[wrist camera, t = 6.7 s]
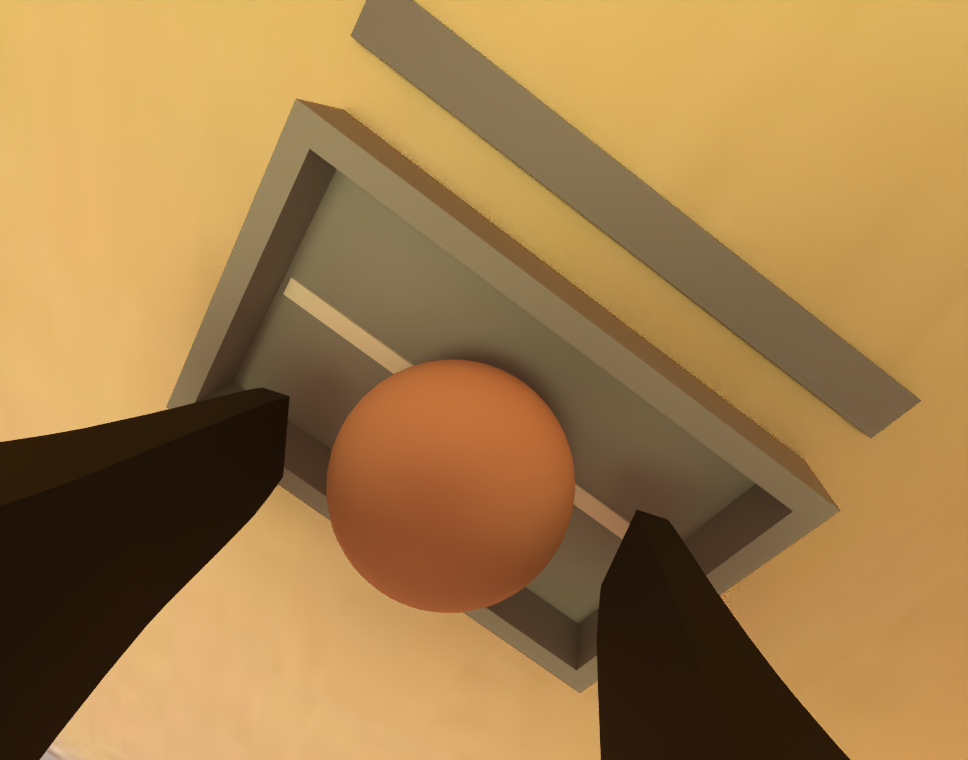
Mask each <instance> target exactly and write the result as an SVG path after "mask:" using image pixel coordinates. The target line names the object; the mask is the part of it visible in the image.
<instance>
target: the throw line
mask: <svg viewBox="0 0 968 760" xmlns="http://www.w3.org/2000/svg"><path fill="white" fill-rule="evenodd" d="M351 36H352V37H353V38H354V39H355V40H357V41H358V42H359V43H361V44H362V45H363V46H364V47H366V48H367V49H368V50H370V51H371V52H372V53H374V54H375V55H376V56H377V57H379V58H380V59H381V60H383V61H384V62H385V63H386V64H388V65H389V66H390V67H392V68H393V69H394V70H395V71H397V72H398V73H399V74H401V75H402V76H403V77H405V78H406V79H407V80H408V81H410V82H411V83H412V84H414V85H415V86H416V87H417V88H419V89H420V90H421V91H423V92H424V93H425V94H426V95H428V96H429V97H430V98H432V99H433V100H434V101H436V102H437V103H438V104H439V105H441V106H442V107H443V108H445V109H446V110H447V111H448V112H450V113H451V114H452V115H454V116H455V117H456V118H458V119H459V120H460V121H461V122H463V123H464V124H465V125H467V126H468V127H469V128H470V129H472V130H473V131H474V132H476V133H477V134H478V135H479V136H481V137H482V138H483V139H485V140H486V141H487V142H489V143H490V144H491V145H492V146H494V147H495V148H496V149H498V150H499V151H500V152H501V153H503V154H504V155H505V156H507V157H508V158H509V159H510V160H512V161H513V162H514V163H516V164H517V165H518V166H520V167H521V168H522V169H523V170H525V171H526V172H527V173H529V174H530V175H531V176H532V177H534V178H535V179H536V180H538V181H539V182H540V183H542V184H543V185H544V186H545V187H547V188H548V189H549V190H551V191H552V192H553V193H554V194H556V195H557V196H558V197H560V198H561V199H562V200H563V201H565V202H566V203H567V204H569V205H570V206H571V207H573V208H574V209H575V210H576V211H578V212H579V213H580V214H582V215H583V216H584V217H585V218H587V219H588V220H589V221H591V222H592V223H593V224H594V225H596V226H597V227H598V228H600V229H601V230H602V231H604V232H605V233H606V234H607V235H609V236H610V237H611V238H613V239H614V240H615V241H616V242H618V243H619V244H620V245H622V246H623V247H624V248H626V249H627V250H628V251H629V252H631V253H632V254H633V255H635V256H636V257H637V258H638V259H640V260H641V261H642V262H644V263H645V264H646V265H647V266H649V267H650V268H651V269H653V270H654V271H655V272H657V273H658V274H659V275H660V276H662V277H663V278H664V279H666V280H667V281H668V282H669V283H671V284H672V285H673V286H675V287H676V288H677V289H679V290H680V291H681V292H682V293H684V294H685V295H686V296H688V297H689V298H690V299H691V300H693V301H694V302H695V303H697V304H698V305H699V306H700V307H702V308H703V309H704V310H706V311H707V312H708V313H710V314H711V315H712V316H713V317H715V318H716V319H717V320H719V321H720V322H721V323H722V324H724V325H725V326H726V327H728V328H729V329H730V330H731V331H733V332H734V333H735V334H737V335H738V336H739V337H741V338H742V339H743V340H744V341H746V342H747V343H748V344H750V345H751V346H752V347H753V348H755V349H756V350H757V351H759V352H760V353H761V354H763V355H764V356H765V357H766V358H768V359H769V360H770V361H772V362H773V363H774V364H775V365H777V366H778V367H779V368H781V369H782V370H783V371H784V372H786V373H787V374H788V375H790V376H791V377H792V378H794V379H795V380H796V381H797V382H799V383H800V384H801V385H803V386H804V387H805V388H806V389H808V390H809V391H810V392H812V393H813V394H814V395H815V396H817V397H818V398H819V399H821V400H822V401H823V402H825V403H826V404H827V405H828V406H830V407H831V408H832V409H834V410H835V411H836V412H837V413H839V414H840V415H841V416H843V417H844V418H845V419H847V420H848V421H849V422H850V423H852V424H853V425H854V426H856V427H857V428H858V429H859V430H861V431H862V432H863V433H865V434H866V435H867V436H868V437H870V438H872V437H873V436H875V435H876V434H877V433H879V432H880V431H881V430H883V429H884V428H885V427H887V426H888V425H889V424H891V423H892V422H893V421H895V420H896V419H897V418H899V417H900V416H901V415H903V414H904V413H905V412H907V411H908V410H909V409H911V408H912V407H913V406H915V405H916V404H917V403H919V402H920V401H921V400H920V399H918V398H917V397H916V396H915V395H913V394H912V393H911V392H910V391H908V390H907V389H906V388H905V387H903V386H902V385H901V384H899V383H898V382H897V381H896V380H894V379H893V378H892V377H891V376H889V375H888V374H887V373H885V372H884V371H883V370H882V369H880V368H879V367H878V366H877V365H875V364H874V363H873V362H871V361H870V360H869V359H868V358H866V357H865V356H864V355H863V354H861V353H860V352H859V351H858V350H856V349H855V348H854V347H852V346H851V345H850V344H849V343H847V342H846V341H845V340H844V339H842V338H841V337H840V336H838V335H837V334H836V333H835V332H833V331H832V330H831V329H830V328H828V327H827V326H826V325H825V324H823V323H822V322H821V321H819V320H818V319H817V318H816V317H814V316H813V315H812V314H811V313H809V312H808V311H807V310H805V309H804V308H803V307H802V306H800V305H799V304H798V303H797V302H795V301H794V300H793V299H792V298H790V297H789V296H788V295H786V294H785V293H784V292H783V291H781V290H780V289H779V288H778V287H776V286H775V285H774V284H772V283H771V282H770V281H769V280H767V279H766V278H765V277H764V276H762V275H761V274H760V273H758V272H757V271H756V270H755V269H753V268H752V267H751V266H750V265H748V264H747V263H746V262H745V261H743V260H742V259H741V258H739V257H738V256H737V255H736V254H734V253H733V252H732V251H731V250H729V249H728V248H727V247H725V246H724V245H723V244H722V243H720V242H719V241H718V240H717V239H715V238H714V237H713V236H712V235H710V234H709V233H708V232H706V231H705V230H704V229H703V228H701V227H700V226H699V225H698V224H696V223H695V222H694V221H692V220H691V219H690V218H689V217H687V216H686V215H685V214H684V213H682V212H681V211H680V210H679V209H677V208H676V207H675V206H673V205H672V204H671V203H670V202H668V201H667V200H666V199H665V198H663V197H662V196H661V195H659V194H658V193H657V192H656V191H654V190H653V189H652V188H651V187H649V186H648V185H647V184H645V183H644V182H643V181H642V180H640V179H639V178H638V177H637V176H635V175H634V174H633V173H632V172H630V171H629V170H628V169H626V168H625V167H624V166H623V165H621V164H620V163H619V162H618V161H616V160H615V159H614V158H612V157H611V156H610V155H609V154H607V153H606V152H605V151H604V150H602V149H601V148H600V147H599V146H597V145H596V144H595V143H593V142H592V141H591V140H590V139H588V138H587V137H586V136H585V135H583V134H582V133H581V132H579V131H578V130H577V129H576V128H574V127H573V126H572V125H571V124H569V123H568V122H567V121H566V120H564V119H563V118H562V117H560V116H559V115H558V114H557V113H555V112H554V111H553V110H552V109H550V108H549V107H548V106H546V105H545V104H544V103H543V102H541V101H540V100H539V99H538V98H536V97H535V96H534V95H532V94H531V93H530V92H529V91H527V90H526V89H525V88H524V87H522V86H521V85H520V84H519V83H517V82H516V81H515V80H513V79H512V78H511V77H510V76H508V75H507V74H506V73H505V72H503V71H502V70H501V69H499V68H498V67H497V66H496V65H494V64H493V63H492V62H491V61H489V60H488V59H487V58H486V57H484V56H483V55H482V54H480V53H479V52H478V51H477V50H475V49H474V48H473V47H472V46H470V45H469V44H468V43H466V42H465V41H464V40H463V39H461V38H460V37H459V36H458V35H456V34H455V33H454V32H453V31H451V30H450V29H449V28H447V27H446V26H445V25H444V24H442V23H441V22H440V21H439V20H437V19H436V18H435V17H433V16H432V15H431V14H430V13H428V12H427V11H426V10H425V9H423V8H422V7H421V6H419V5H418V4H417V3H416V2H414V1H413V0H366V2H365V5H364V7H363V9H362V11H361V14H360V16H359V18H358V20H357V23H356V25H355V27H354V29H353V32H352V34H351Z"/></svg>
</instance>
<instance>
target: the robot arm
mask: <svg viewBox="0 0 968 760" xmlns="http://www.w3.org/2000/svg"><path fill="white" fill-rule="evenodd" d="M289 400H290V396H287V395H284V394H281V393H278V392H275V391H272V390H269V389H266V388H263V387H262V388H256V389H250V390H245V391H240V392H236V393H232V394H228V395H223V396H219V397H215V398H211V399H207V400H204V401H200V402H196V403H192V404H188V405H184V406H180V407H176V408H172V409H168V410H164V411H160V412H156V413H152V414H147V415H143V416H138V417H134V418H129V419H124V420H120V421H115V422H111V423H106V424H102V425H97V426H92V427H88V428H83V429H78V430H72V431H67V432H61V433H56V434H50V435H44V436H38V437H31V438H25V439H18V440H11V441H5V442H0V760H40V758H41V757H42V756H43V754H44V753H45V752H46V750H47V749H48V748H49V746H50V745H51V744H52V742H53V741H54V740H55V738H56V737H57V736H58V734H59V733H60V732H61V731H62V729H63V728H64V727H65V726H66V724H67V723H68V722H69V721H70V719H71V718H72V717H73V716H74V714H75V713H76V712H77V710H78V709H79V708H80V707H81V705H82V704H83V703H84V702H85V700H86V699H87V698H88V697H89V695H90V694H91V693H92V691H93V690H94V689H95V688H96V686H97V685H98V684H99V683H100V681H101V680H102V679H103V678H104V676H105V675H106V674H107V673H108V671H109V670H110V669H111V668H112V667H113V665H114V664H115V663H116V662H117V661H118V659H119V658H120V657H121V656H122V655H123V653H124V652H125V651H126V650H127V649H128V647H129V646H130V645H131V644H132V643H133V641H134V640H135V639H136V638H137V637H138V635H139V634H140V633H141V632H142V630H143V629H144V628H145V627H146V626H147V625H148V624H149V622H150V621H151V620H152V619H153V618H154V617H155V616H156V615H157V614H158V613H159V612H160V611H161V609H162V608H163V607H164V606H165V605H166V604H167V603H168V602H169V601H170V600H171V599H172V598H173V597H174V596H175V595H176V594H177V593H178V592H179V591H180V590H181V589H182V588H183V587H184V586H185V585H186V584H187V583H188V582H189V581H190V580H191V579H192V578H193V577H194V576H195V575H196V574H197V573H198V572H199V571H200V570H201V569H202V568H203V567H204V566H205V565H206V564H207V563H208V562H209V561H210V560H211V559H212V558H213V557H214V556H215V555H216V554H217V553H218V552H219V551H220V550H221V549H222V548H223V547H224V546H225V545H226V544H227V543H228V542H229V541H230V540H231V539H232V538H233V537H234V536H235V535H236V534H237V533H238V532H239V531H240V530H241V529H242V528H243V526H244V525H245V524H246V523H247V522H248V521H249V520H250V519H251V518H252V517H253V516H254V515H255V514H256V512H257V511H258V510H259V508H260V507H261V506H262V505H263V503H264V502H265V501H266V500H267V498H268V497H269V496H270V494H271V493H272V491H273V490H274V489H275V487H276V486H277V485H278V483H279V482H280V481H281V479H282V478H283V473H284V461H285V448H286V436H287V424H288V412H289ZM596 638H597V671H598V697H599V722H600V747H601V760H850V759H849V758H848V757H847V756H846V755H845V753H844V752H843V751H842V750H841V749H840V748H839V747H838V746H837V745H836V743H835V742H834V741H833V740H832V739H831V738H830V736H829V735H828V734H827V733H826V732H825V731H824V730H823V728H822V727H821V726H820V725H819V724H818V723H817V721H816V720H815V719H814V718H813V717H812V716H811V714H810V713H809V712H808V711H807V710H806V709H805V707H804V706H803V705H802V704H801V703H800V702H799V700H798V699H797V698H796V697H795V696H794V694H793V693H792V692H791V691H790V690H789V688H788V687H787V686H786V685H785V683H784V682H783V681H782V680H781V678H780V677H779V676H778V675H777V673H776V672H775V671H774V669H773V668H772V667H771V666H770V664H769V663H768V662H767V660H766V659H765V658H764V656H763V655H762V654H761V652H760V651H759V650H758V648H757V647H756V646H755V645H754V643H753V642H752V641H751V639H750V638H749V637H748V635H747V634H746V632H745V631H744V630H743V628H742V627H741V626H740V624H739V623H738V621H737V620H736V619H735V617H734V616H733V614H732V613H731V612H730V610H729V609H728V607H727V606H726V604H725V603H724V602H723V600H722V599H721V597H720V596H719V594H718V593H717V591H716V590H715V588H714V587H713V585H712V584H711V582H710V581H709V579H708V578H707V576H706V575H705V573H704V572H703V570H702V569H701V567H700V566H699V564H698V563H697V561H696V560H695V558H694V557H693V555H692V554H691V552H690V551H689V549H688V548H687V546H686V545H685V543H684V542H683V540H682V539H681V537H680V536H679V534H678V533H677V531H676V530H675V528H674V527H673V525H672V524H671V523H670V521H669V520H668V519H665V518H662V517H658V516H655V515H652V514H649V513H646V512H643V511H640V510H636V512H635V514H634V516H633V518H632V521H631V523H630V525H629V527H628V529H627V531H626V533H625V535H624V538H623V540H622V542H621V544H620V546H619V548H618V550H617V552H616V555H615V557H614V559H613V561H612V563H611V565H610V567H609V569H608V572H607V574H606V576H605V578H604V580H603V582H602V584H601V589H600V600H599V610H598V622H597V636H596Z"/></svg>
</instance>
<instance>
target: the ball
mask: <svg viewBox="0 0 968 760" xmlns="http://www.w3.org/2000/svg"><path fill="white" fill-rule="evenodd" d="M326 495H327V505H328V510H329V515H330V519H331V523H332V527H333V530H334V533H335V535H336V538H337V540H338V542H339V544H340V546H341V548H342V549H343V551H344V553H345V555H346V557H347V558H348V560H349V561H350V562H351V564H352V565H353V567H354V568H355V569H356V570H357V571H358V572H359V573H360V575H362V576H363V577H364V578H365V579H366V580H367V581H368V582H369V583H370V584H371V585H373V586H374V587H375V588H376V589H378V590H379V591H380V592H382V593H384V594H385V595H387V596H388V597H390V598H392V599H394V600H396V601H398V602H400V603H402V604H405V605H408V606H410V607H414V608H417V609H421V610H426V611H432V612H443V613H459V612H467V611H472V610H477V609H481V608H484V607H488V606H491V605H493V604H496V603H499V602H501V601H503V600H505V599H506V598H508V597H510V596H512V595H513V594H515V593H517V592H519V591H520V590H521V589H523V588H524V587H525V586H527V585H528V584H529V583H530V582H531V581H532V580H533V579H534V578H535V577H536V576H537V575H538V574H539V573H540V572H541V571H542V570H543V569H544V568H545V567H546V566H547V564H548V563H549V562H550V560H551V559H552V557H553V556H554V554H555V553H556V551H557V550H558V548H559V546H560V544H561V542H562V540H563V538H564V536H565V533H566V531H567V528H568V525H569V522H570V519H571V515H572V510H573V503H574V496H575V473H574V464H573V459H572V454H571V451H570V448H569V445H568V442H567V439H566V436H565V433H564V431H563V429H562V427H561V425H560V423H559V421H558V420H557V418H556V417H555V415H554V414H553V412H552V411H551V409H550V408H549V407H548V405H547V404H546V403H545V402H544V401H543V400H542V398H541V397H540V396H539V395H538V394H537V393H536V392H535V391H534V390H532V389H531V388H530V387H529V386H528V385H527V384H525V383H524V382H522V381H521V380H519V379H518V378H516V377H515V376H513V375H511V374H509V373H507V372H505V371H503V370H501V369H499V368H496V367H493V366H490V365H488V364H484V363H480V362H475V361H469V360H460V359H452V360H437V361H431V362H424V363H421V364H418V365H414V366H411V367H409V368H406V369H404V370H402V371H400V372H398V373H395V374H393V375H391V376H390V377H388V378H387V379H385V380H383V381H382V382H380V383H379V384H378V385H377V386H375V387H374V388H373V389H372V390H371V391H370V392H368V393H367V394H366V395H365V396H364V397H363V398H362V399H361V400H360V401H359V403H358V404H357V405H356V406H355V407H354V409H353V410H352V411H351V413H350V414H349V415H348V417H347V418H346V420H345V422H344V424H343V425H342V427H341V429H340V431H339V433H338V435H337V438H336V440H335V443H334V445H333V448H332V452H331V456H330V461H329V465H328V470H327V492H326Z"/></svg>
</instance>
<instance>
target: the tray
mask: <svg viewBox="0 0 968 760" xmlns="http://www.w3.org/2000/svg"><path fill="white" fill-rule="evenodd" d="M452 359H460V360H469V361H475V362H480V363H484V364H488V365H490V366H493V367H496V368H499V369H501V370H503V371H505V372H507V373H509V374H511V375H513V376H515V377H516V378H518V379H519V380H521V381H522V382H524V383H525V384H527V385H528V386H529V387H530V388H531V389H532V390H534V391H535V392H536V393H537V394H538V395H539V396H540V397H541V398H542V400H543V401H544V402H545V403H546V404H547V405H548V407H549V408H550V409H551V411H552V412H553V414H554V415H555V417H556V418H557V420H558V421H559V423H560V425H561V427H562V429H563V431H564V433H565V436H566V439H567V442H568V445H569V448H570V451H571V454H572V459H573V464H574V473H575V496H574V503H573V510H572V515H571V519H570V522H569V525H568V528H567V531H566V533H565V536H564V538H563V540H562V542H561V544H560V546H559V548H558V550H557V551H556V553H555V554H554V556H553V557H552V559H551V560H550V562H549V563H548V564H547V566H546V567H545V568H544V569H543V570H542V571H541V572H540V573H539V574H538V575H537V576H536V577H535V578H534V579H533V580H532V581H531V582H530V583H529V584H528V585H527V586H525V587H524V588H523V589H521V590H520V591H519V592H517V593H515V594H513V595H512V596H510V597H508V598H506V599H505V600H503V601H501V602H499V603H496V604H493V605H491V606H488V607H484V608H481V609H477V610H472V611H467V612H463V613H465V614H466V615H468V616H469V617H471V618H472V619H474V620H475V621H476V622H478V623H479V624H481V625H482V626H484V627H485V628H487V629H488V630H489V631H491V632H492V633H494V634H495V635H497V636H498V637H500V638H501V639H502V640H504V641H505V642H507V643H508V644H510V645H511V646H513V647H514V648H515V649H517V650H518V651H520V652H521V653H523V654H524V655H526V656H527V657H528V658H530V659H531V660H533V661H534V662H536V663H537V664H539V665H540V666H541V667H543V668H544V669H546V670H547V671H549V672H550V673H552V674H553V675H554V676H556V677H557V678H559V679H560V680H562V681H563V682H565V683H566V684H567V685H569V686H570V687H572V688H573V689H575V690H576V691H578V692H579V693H581V692H582V691H583V690H585V689H586V688H588V687H589V686H591V685H592V684H593V683H595V682H596V681H598V671H597V638H596V636H597V622H598V610H599V600H600V589H601V584H602V582H603V580H604V578H605V576H606V574H607V572H608V569H609V567H610V565H611V563H612V561H613V559H614V557H615V555H616V552H617V550H618V548H619V546H620V544H621V542H622V540H623V538H624V535H625V533H626V531H627V529H628V527H629V525H630V523H631V521H632V518H633V516H634V514H635V512H636V510H640V511H643V512H646V513H649V514H652V515H655V516H658V517H662V518H665V519H668V520H669V521H670V523H671V524H672V525H673V527H674V528H675V530H676V531H677V533H678V534H679V536H680V537H681V539H682V540H683V542H684V543H685V545H686V546H687V548H688V549H689V551H690V552H691V554H692V555H693V557H694V558H695V560H696V561H697V563H698V564H699V566H700V567H701V569H702V570H703V572H704V573H705V575H706V576H707V578H708V579H709V581H710V582H711V584H712V585H713V587H714V588H715V590H716V591H717V593H718V594H719V595H721V594H722V593H723V592H725V591H726V590H728V589H729V588H731V587H732V586H733V585H735V584H736V583H738V582H739V581H741V580H742V579H743V578H745V577H746V576H748V575H749V574H751V573H752V572H753V571H755V570H756V569H758V568H759V567H761V566H762V565H763V564H765V563H766V562H768V561H769V560H771V559H772V558H773V557H775V556H776V555H778V554H779V553H781V552H782V551H783V550H785V549H786V548H788V547H789V546H791V545H792V544H793V543H795V542H796V541H798V540H799V539H801V538H802V537H803V536H805V535H806V534H808V533H809V532H811V531H812V530H813V529H815V528H816V527H818V526H819V525H821V524H822V523H823V522H825V521H826V520H828V519H829V518H831V517H832V516H833V515H835V514H836V513H838V512H839V511H840V509H839V508H838V506H837V505H836V504H835V502H834V501H833V499H832V498H831V497H830V495H829V494H828V492H827V491H826V490H825V488H824V487H823V485H822V484H821V483H820V481H819V480H818V479H817V477H816V476H815V474H814V473H813V472H812V470H811V469H810V467H809V466H808V465H807V463H806V462H805V461H804V460H803V459H802V458H800V457H799V456H798V455H796V454H795V453H794V452H793V451H791V450H790V449H789V448H787V447H786V446H785V445H783V444H782V443H781V442H779V441H778V440H777V439H775V438H774V437H773V436H771V435H770V434H769V433H768V432H766V431H765V430H764V429H762V428H761V427H760V426H758V425H757V424H756V423H754V422H753V421H752V420H750V419H749V418H748V417H746V416H745V415H744V414H743V413H741V412H740V411H739V410H737V409H736V408H735V407H733V406H732V405H731V404H729V403H728V402H727V401H725V400H724V399H723V398H722V397H720V396H719V395H718V394H716V393H715V392H714V391H712V390H711V389H710V388H708V387H707V386H706V385H704V384H703V383H702V382H700V381H699V380H698V379H697V378H695V377H694V376H693V375H691V374H690V373H689V372H687V371H686V370H685V369H683V368H682V367H681V366H679V365H678V364H677V363H676V362H674V361H673V360H672V359H670V358H669V357H668V356H666V355H665V354H664V353H662V352H661V351H660V350H658V349H657V348H656V347H654V346H653V345H652V344H651V343H649V342H648V341H647V340H645V339H644V338H643V337H641V336H640V335H639V334H637V333H636V332H635V331H633V330H632V329H631V328H630V327H628V326H627V325H626V324H624V323H623V322H622V321H620V320H619V319H618V318H616V317H615V316H614V315H612V314H611V313H610V312H608V311H607V310H606V309H605V308H603V307H602V306H601V305H599V304H598V303H597V302H595V301H594V300H593V299H591V298H590V297H589V296H587V295H586V294H585V293H584V292H582V291H581V290H580V289H578V288H577V287H576V286H574V285H573V284H572V283H570V282H569V281H568V280H566V279H565V278H564V277H562V276H561V275H560V274H559V273H557V272H556V271H555V270H553V269H552V268H551V267H549V266H548V265H547V264H545V263H544V262H543V261H541V260H540V259H539V258H538V257H536V256H535V255H534V254H532V253H531V252H530V251H528V250H527V249H526V248H524V247H523V246H522V245H520V244H519V243H518V242H516V241H515V240H514V239H513V238H511V237H510V236H509V235H507V234H506V233H505V232H503V231H502V230H501V229H499V228H498V227H497V226H495V225H494V224H493V223H491V222H490V221H489V220H488V219H486V218H485V217H484V216H482V215H481V214H480V213H478V212H477V211H476V210H474V209H473V208H472V207H470V206H469V205H468V204H467V203H465V202H464V201H463V200H461V199H460V198H459V197H457V196H456V195H455V194H453V193H452V192H451V191H449V190H448V189H447V188H445V187H444V186H443V185H442V184H440V183H439V182H438V181H436V180H435V179H434V178H432V177H431V176H430V175H428V174H427V173H426V172H424V171H423V170H422V169H421V168H419V167H418V166H417V165H415V164H414V163H413V162H411V161H410V160H409V159H407V158H406V157H405V156H403V155H402V154H401V153H399V152H398V151H397V150H396V149H394V148H393V147H392V146H390V145H389V144H388V143H386V142H385V141H384V140H382V139H381V138H380V137H378V136H377V135H376V134H375V133H373V132H372V131H371V130H369V129H368V128H367V127H365V126H364V125H363V124H361V123H360V122H359V121H357V120H356V119H355V118H353V117H352V116H351V115H350V114H348V113H347V112H346V111H344V110H342V109H338V108H334V107H330V106H325V105H321V104H317V103H313V102H308V101H304V100H300V99H296V100H295V102H294V104H293V107H292V109H291V112H290V114H289V116H288V119H287V121H286V124H285V126H284V128H283V131H282V133H281V135H280V138H279V140H278V143H277V145H276V147H275V150H274V152H273V154H272V157H271V159H270V162H269V164H268V166H267V169H266V171H265V174H264V176H263V178H262V181H261V183H260V185H259V188H258V190H257V193H256V195H255V197H254V200H253V202H252V205H251V207H250V209H249V212H248V214H247V216H246V219H245V221H244V224H243V226H242V228H241V231H240V233H239V235H238V238H237V240H236V243H235V245H234V247H233V250H232V252H231V255H230V257H229V259H228V262H227V264H226V266H225V269H224V271H223V274H222V276H221V278H220V281H219V283H218V285H217V288H216V290H215V293H214V295H213V297H212V300H211V302H210V305H209V307H208V309H207V312H206V314H205V316H204V319H203V321H202V324H201V326H200V328H199V331H198V333H197V336H196V338H195V340H194V343H193V345H192V347H191V350H190V352H189V355H188V357H187V359H186V362H185V364H184V366H183V369H182V371H181V374H180V376H179V378H178V381H177V383H176V386H175V388H174V390H173V393H172V395H171V397H170V400H169V402H168V405H167V408H169V409H172V408H176V407H180V406H184V405H188V404H192V403H196V402H200V401H204V400H207V399H211V398H215V397H219V396H223V395H228V394H232V393H236V392H240V391H245V390H250V389H256V388H262V387H263V388H266V389H269V390H272V391H275V392H278V393H281V394H284V395H287V396H290V400H289V412H288V424H287V436H286V448H285V461H284V473H283V478H282V479H281V481H280V482H279V483H278V485H280V486H281V487H283V488H284V489H286V490H287V491H289V492H290V493H291V494H293V495H294V496H296V497H297V498H299V499H300V500H302V501H303V502H304V503H306V504H307V505H309V506H310V507H312V508H313V509H315V510H316V511H317V512H319V513H320V514H322V515H323V516H325V517H326V518H328V519H329V520H330V521H331V519H330V515H329V510H328V505H327V495H326V492H327V470H328V465H329V461H330V456H331V452H332V448H333V445H334V443H335V440H336V438H337V435H338V433H339V431H340V429H341V427H342V425H343V424H344V422H345V420H346V418H347V417H348V415H349V414H350V413H351V411H352V410H353V409H354V407H355V406H356V405H357V404H358V403H359V401H360V400H361V399H362V398H363V397H364V396H365V395H366V394H367V393H368V392H370V391H371V390H372V389H373V388H374V387H375V386H377V385H378V384H379V383H380V382H382V381H383V380H385V379H387V378H388V377H390V376H391V375H393V374H395V373H398V372H400V371H402V370H404V369H406V368H409V367H411V366H414V365H418V364H421V363H424V362H431V361H437V360H452Z"/></svg>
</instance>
